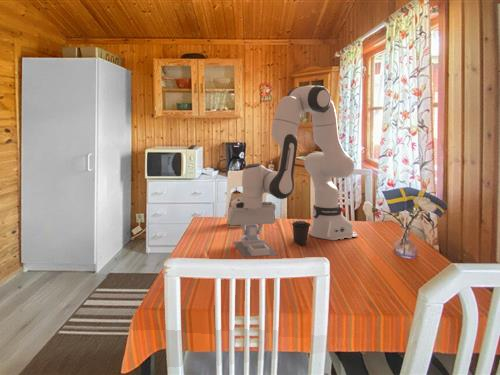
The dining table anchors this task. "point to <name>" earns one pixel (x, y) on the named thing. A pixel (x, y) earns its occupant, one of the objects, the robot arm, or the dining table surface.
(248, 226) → the plug
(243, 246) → the panel
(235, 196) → the milk carton
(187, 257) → the dining table surface
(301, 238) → the coffee cup
